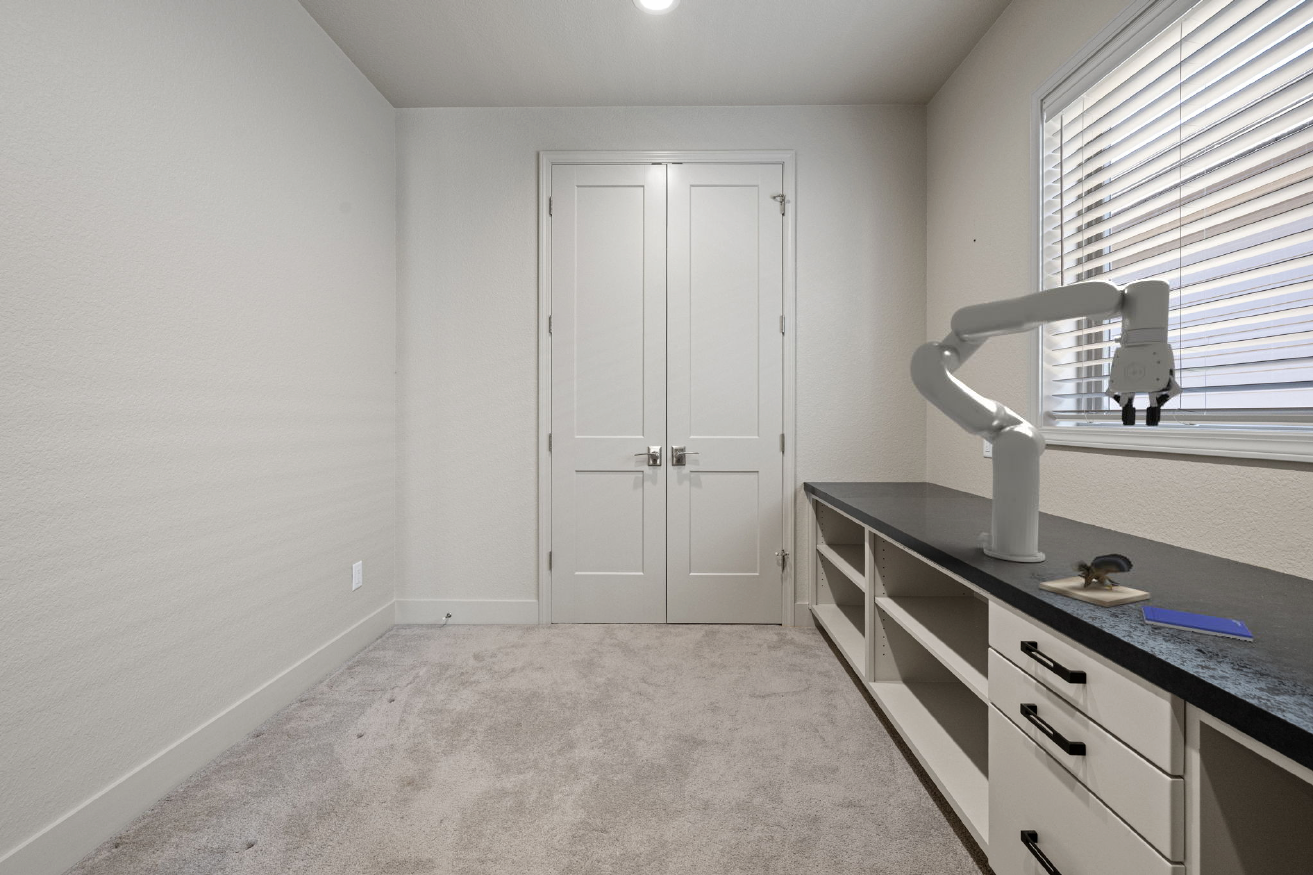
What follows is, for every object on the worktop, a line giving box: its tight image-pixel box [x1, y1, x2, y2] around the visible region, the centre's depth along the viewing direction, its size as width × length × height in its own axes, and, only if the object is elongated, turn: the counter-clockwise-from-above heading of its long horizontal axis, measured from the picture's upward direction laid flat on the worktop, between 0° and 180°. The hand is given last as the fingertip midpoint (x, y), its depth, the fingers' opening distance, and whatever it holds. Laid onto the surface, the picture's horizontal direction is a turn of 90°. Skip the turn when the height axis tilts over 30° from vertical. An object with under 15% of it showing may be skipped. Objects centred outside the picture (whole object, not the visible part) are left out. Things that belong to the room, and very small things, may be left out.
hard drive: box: [1141, 605, 1254, 643], centre depth 93 cm, size 2×8×12 cm
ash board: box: [1038, 575, 1151, 608], centre depth 109 cm, size 12×13×1 cm
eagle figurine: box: [1069, 553, 1134, 590], centre depth 110 cm, size 8×7×9 cm
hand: (1140, 424), depth 121 cm, fingers open, 3 cm apart
